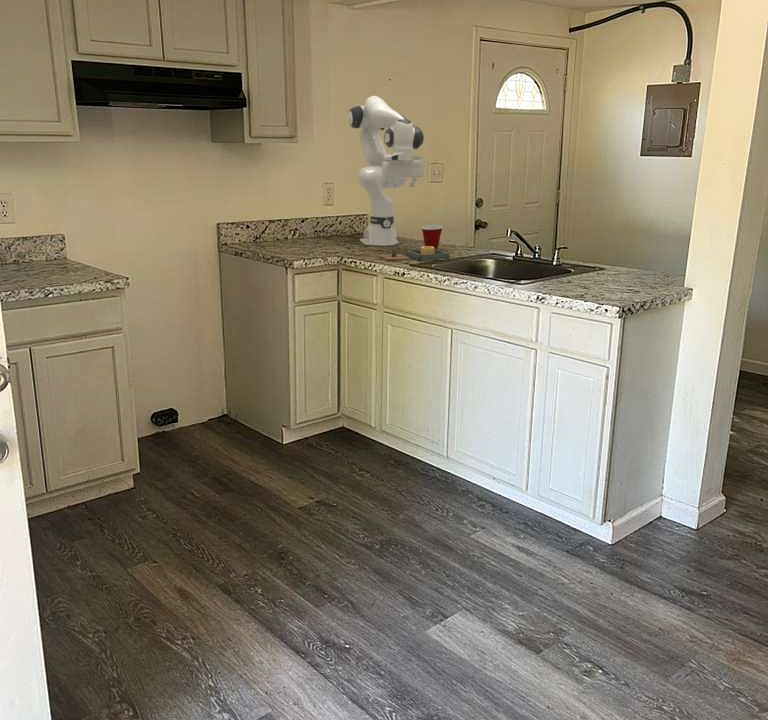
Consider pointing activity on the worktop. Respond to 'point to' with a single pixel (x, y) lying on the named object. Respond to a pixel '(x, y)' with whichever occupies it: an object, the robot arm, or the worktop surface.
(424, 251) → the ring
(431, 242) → the plastic cup
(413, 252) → the tray
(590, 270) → the worktop surface
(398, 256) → the wooden peg stand
